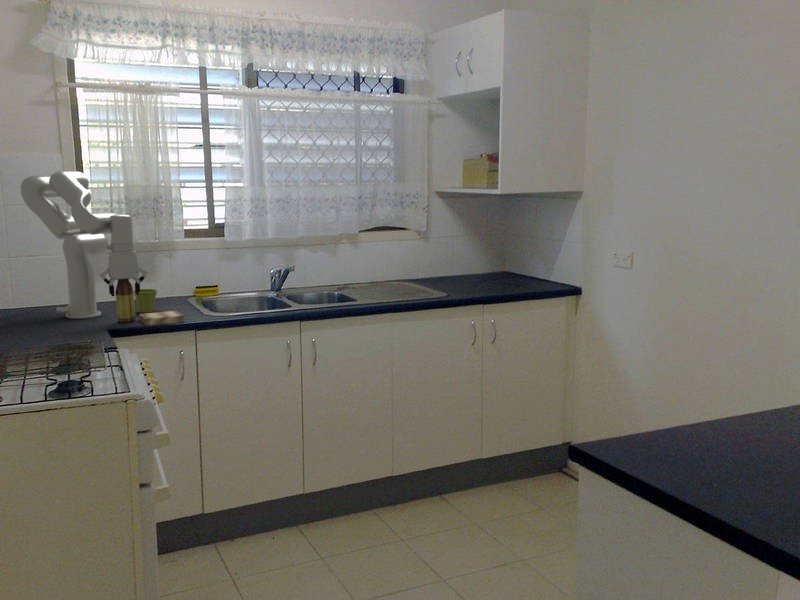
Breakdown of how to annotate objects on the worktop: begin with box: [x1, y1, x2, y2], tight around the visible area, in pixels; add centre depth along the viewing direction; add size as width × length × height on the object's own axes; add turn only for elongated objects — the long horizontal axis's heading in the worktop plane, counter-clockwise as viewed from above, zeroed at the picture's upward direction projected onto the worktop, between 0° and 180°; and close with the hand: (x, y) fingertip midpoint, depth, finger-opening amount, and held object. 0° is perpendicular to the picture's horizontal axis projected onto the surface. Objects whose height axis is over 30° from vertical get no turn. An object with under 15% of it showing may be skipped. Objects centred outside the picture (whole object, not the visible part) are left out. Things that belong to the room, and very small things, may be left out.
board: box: [138, 310, 185, 327], centre depth 279 cm, size 14×11×2 cm
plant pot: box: [133, 288, 159, 314], centre depth 298 cm, size 9×9×9 cm
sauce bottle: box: [115, 279, 136, 323], centre depth 278 cm, size 7×6×20 cm
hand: (125, 294), depth 278 cm, fingers open, 8 cm apart
